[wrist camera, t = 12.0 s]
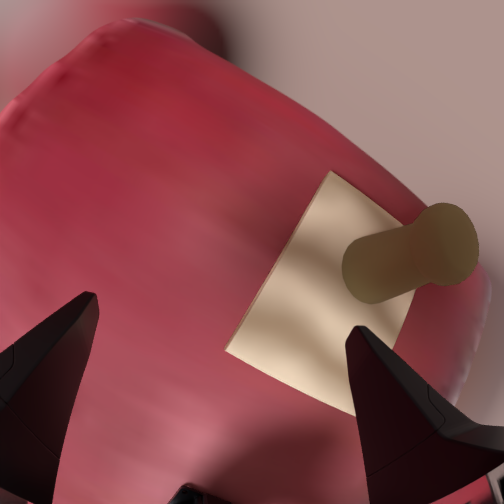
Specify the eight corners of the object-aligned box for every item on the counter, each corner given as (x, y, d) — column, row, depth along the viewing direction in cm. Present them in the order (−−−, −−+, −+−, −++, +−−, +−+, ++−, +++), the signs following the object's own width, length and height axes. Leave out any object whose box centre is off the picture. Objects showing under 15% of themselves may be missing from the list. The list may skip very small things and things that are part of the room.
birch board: (349, 413, 23) (357, 417, 21) (223, 348, 22) (225, 350, 21) (420, 250, 28) (429, 247, 26) (324, 177, 27) (330, 170, 26)
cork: (396, 242, 26) (483, 202, 15) (396, 306, 24) (493, 291, 14) (342, 231, 25) (425, 177, 14) (340, 302, 23) (435, 284, 13)
